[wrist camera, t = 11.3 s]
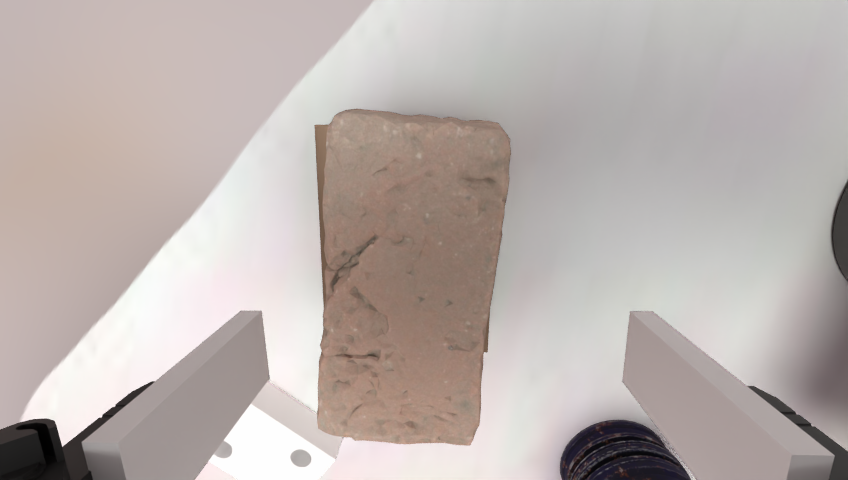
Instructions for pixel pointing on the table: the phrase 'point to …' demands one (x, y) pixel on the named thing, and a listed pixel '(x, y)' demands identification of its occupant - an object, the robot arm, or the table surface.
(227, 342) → the robot arm
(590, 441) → the dark blue barrel
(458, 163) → the brick
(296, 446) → the bracket
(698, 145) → the table surface
